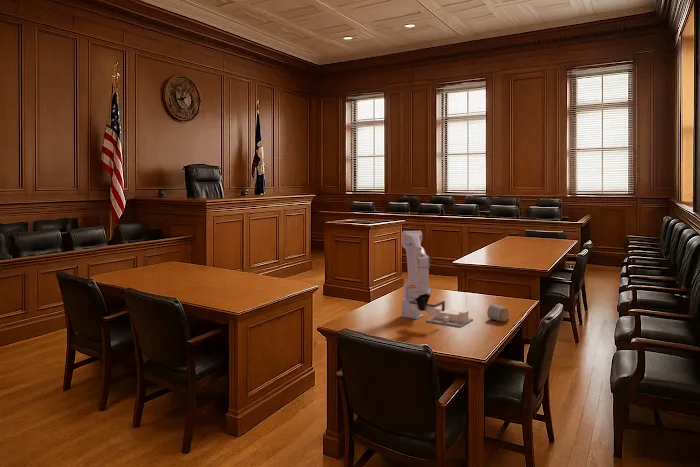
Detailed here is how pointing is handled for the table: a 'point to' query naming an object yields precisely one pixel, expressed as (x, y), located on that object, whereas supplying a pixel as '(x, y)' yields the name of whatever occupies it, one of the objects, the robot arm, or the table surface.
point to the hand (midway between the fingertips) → (422, 309)
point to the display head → (450, 317)
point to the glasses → (428, 309)
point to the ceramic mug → (498, 313)
